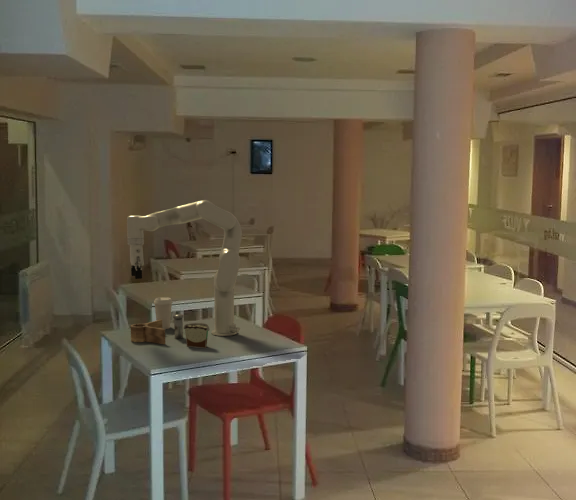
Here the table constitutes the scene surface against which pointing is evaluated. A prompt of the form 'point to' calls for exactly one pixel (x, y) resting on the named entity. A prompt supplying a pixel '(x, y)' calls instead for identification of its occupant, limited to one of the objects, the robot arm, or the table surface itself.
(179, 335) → the pin
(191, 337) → the food container
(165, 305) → the coffee cup
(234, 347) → the table surface
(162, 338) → the hinge
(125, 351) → the table surface
